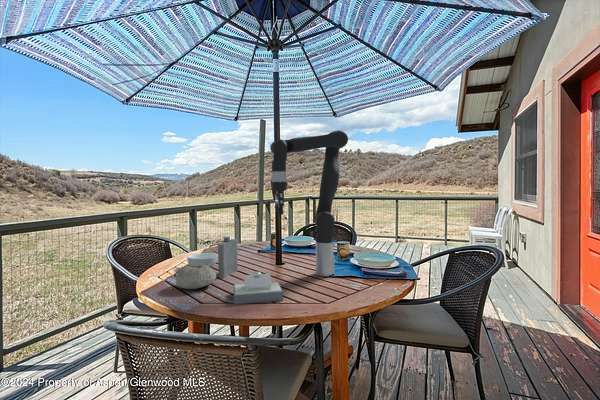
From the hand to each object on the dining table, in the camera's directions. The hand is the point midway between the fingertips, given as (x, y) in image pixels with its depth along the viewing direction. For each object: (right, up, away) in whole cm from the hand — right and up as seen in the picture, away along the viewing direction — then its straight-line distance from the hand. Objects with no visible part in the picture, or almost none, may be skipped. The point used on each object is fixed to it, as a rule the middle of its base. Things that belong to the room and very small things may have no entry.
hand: (279, 213), depth 164 cm
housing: (-8, -31, -22) cm, 39 cm away
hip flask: (-28, -33, +13) cm, 45 cm away
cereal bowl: (-46, -32, +26) cm, 62 cm away
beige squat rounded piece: (-39, -34, -8) cm, 52 cm away
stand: (-8, -35, -22) cm, 42 cm away
